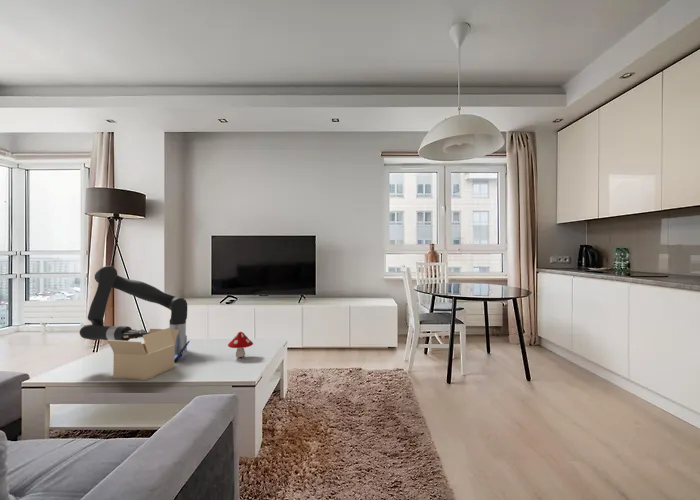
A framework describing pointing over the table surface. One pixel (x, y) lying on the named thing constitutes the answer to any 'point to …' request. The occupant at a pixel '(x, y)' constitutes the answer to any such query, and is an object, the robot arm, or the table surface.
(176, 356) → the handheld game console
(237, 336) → the decorative mushroom
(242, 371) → the table surface
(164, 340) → the near flap
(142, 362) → the carton
